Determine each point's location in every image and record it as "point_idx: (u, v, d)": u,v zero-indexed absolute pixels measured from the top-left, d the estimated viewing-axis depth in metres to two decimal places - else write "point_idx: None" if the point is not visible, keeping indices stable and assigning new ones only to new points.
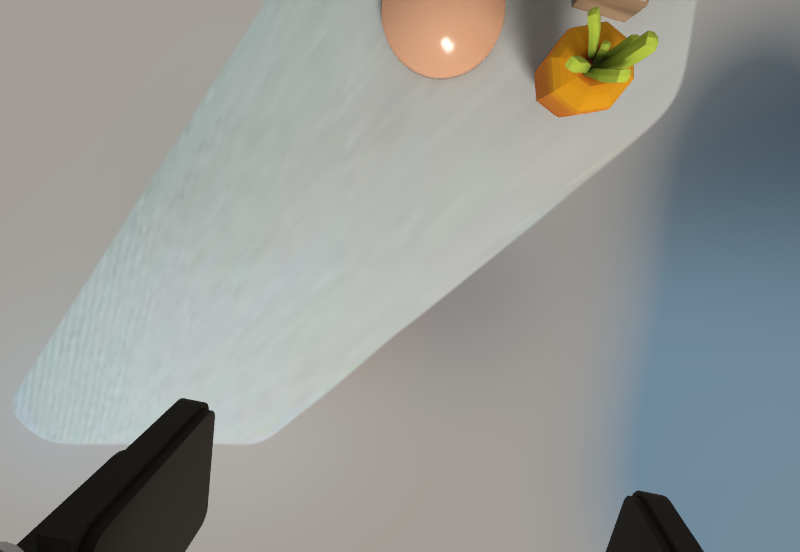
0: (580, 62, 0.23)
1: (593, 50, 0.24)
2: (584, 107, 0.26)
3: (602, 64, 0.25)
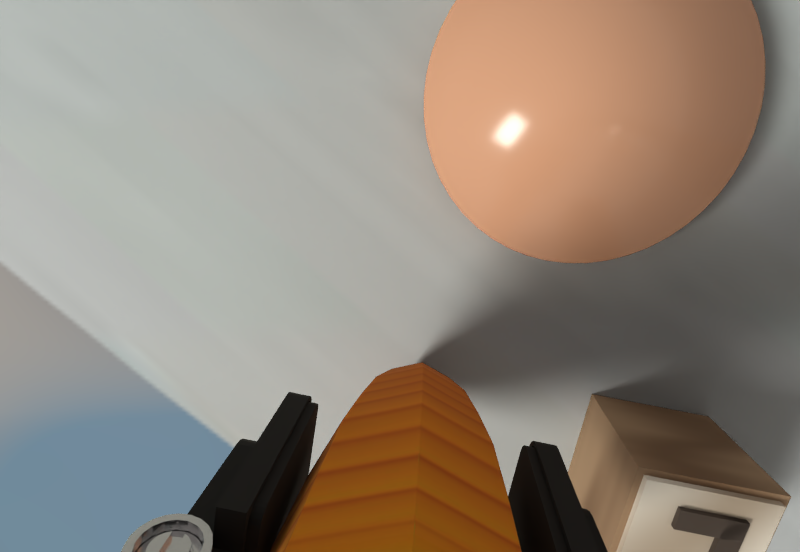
0: None
1: None
2: None
3: None
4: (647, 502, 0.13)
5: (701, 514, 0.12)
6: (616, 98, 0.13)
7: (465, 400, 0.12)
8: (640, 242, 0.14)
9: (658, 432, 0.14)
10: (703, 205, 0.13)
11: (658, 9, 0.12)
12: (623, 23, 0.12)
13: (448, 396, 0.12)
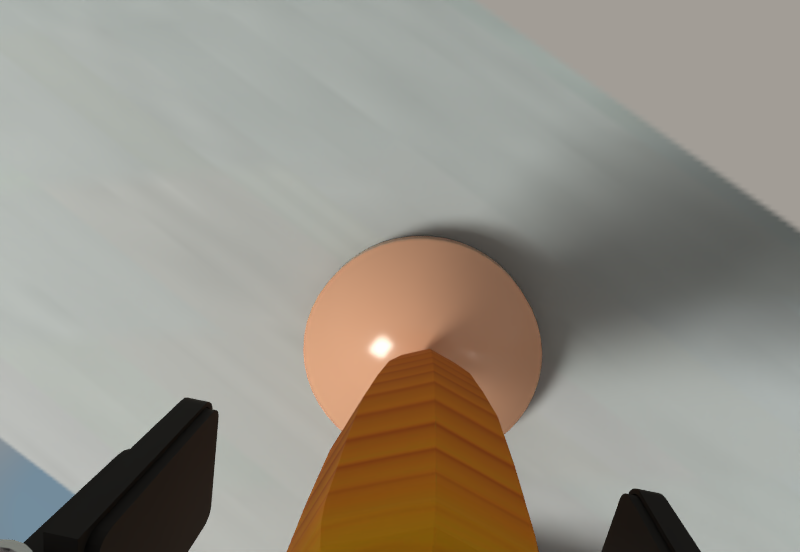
0: None
1: None
2: None
3: None
4: None
5: None
6: None
7: (471, 381, 0.13)
8: None
9: None
10: (507, 427, 0.18)
11: (463, 302, 0.17)
12: (440, 309, 0.17)
13: (456, 376, 0.13)
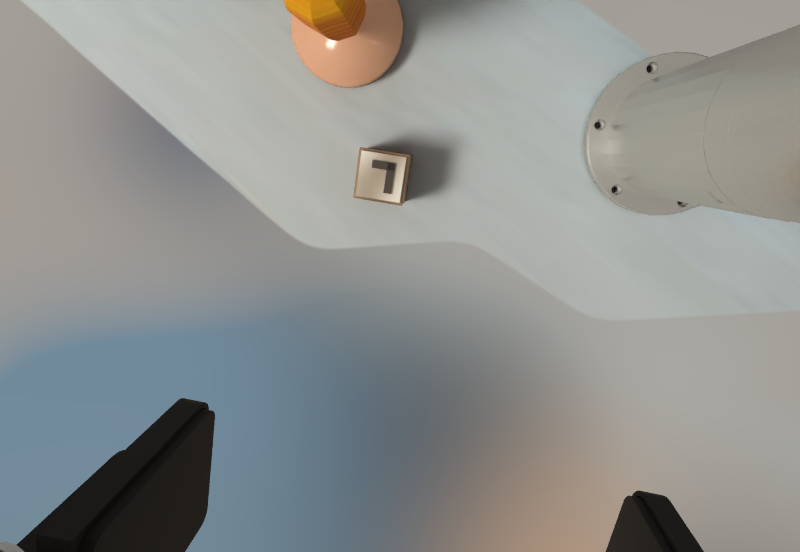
0: None
1: None
2: None
3: None
4: (363, 159, 0.37)
5: (379, 161, 0.37)
6: None
7: None
8: (369, 77, 0.39)
9: None
10: (388, 62, 0.38)
11: None
12: None
13: None
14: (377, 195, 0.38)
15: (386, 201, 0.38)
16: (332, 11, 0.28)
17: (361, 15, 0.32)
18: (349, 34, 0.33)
